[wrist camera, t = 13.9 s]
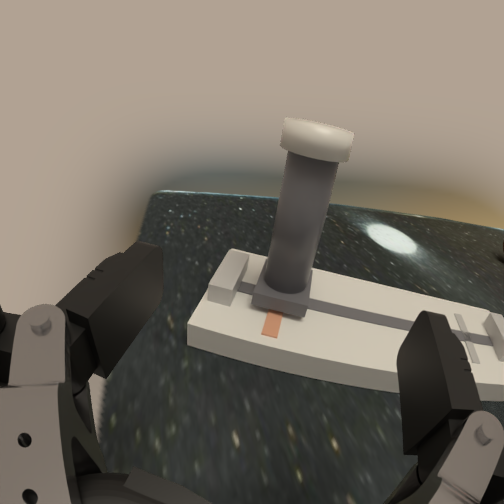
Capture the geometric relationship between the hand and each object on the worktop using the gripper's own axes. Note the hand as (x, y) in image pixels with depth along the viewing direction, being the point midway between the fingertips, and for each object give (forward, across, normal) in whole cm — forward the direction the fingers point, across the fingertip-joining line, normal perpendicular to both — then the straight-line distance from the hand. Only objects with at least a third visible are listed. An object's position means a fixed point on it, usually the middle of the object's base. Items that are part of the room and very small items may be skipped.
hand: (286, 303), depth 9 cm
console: (+11, -8, +10) cm, 17 cm away
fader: (+11, 0, +8) cm, 13 cm away
